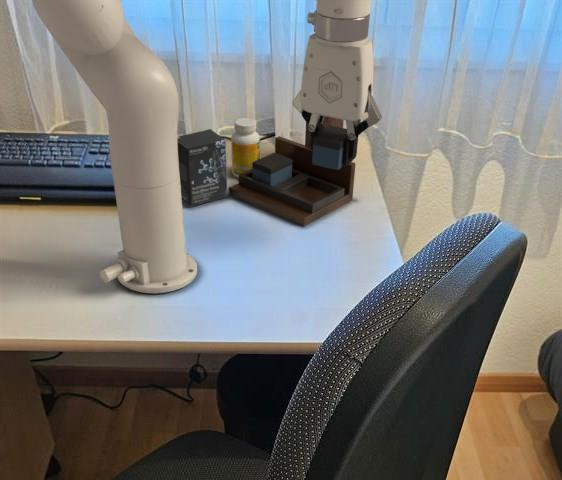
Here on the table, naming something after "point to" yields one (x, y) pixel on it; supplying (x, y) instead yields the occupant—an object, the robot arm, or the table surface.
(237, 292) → the table surface
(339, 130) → the blue lidded block
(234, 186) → the brown wooden organizer
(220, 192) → the box
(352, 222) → the table surface
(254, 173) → the dark grey block
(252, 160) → the supplement bottle
